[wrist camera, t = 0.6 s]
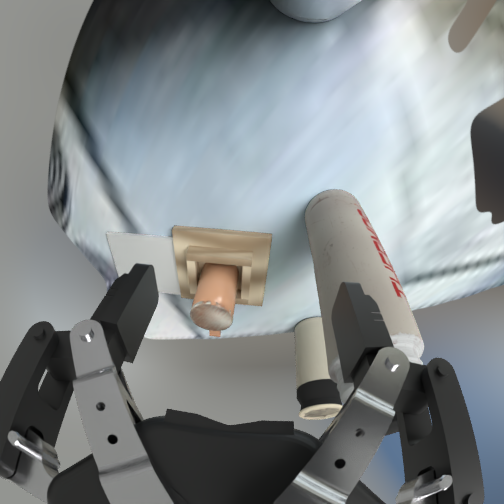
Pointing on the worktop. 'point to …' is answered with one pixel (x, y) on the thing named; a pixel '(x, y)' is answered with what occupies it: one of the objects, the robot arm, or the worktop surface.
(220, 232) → the dock
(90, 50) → the worktop surface
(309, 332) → the travel mug
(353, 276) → the thermos bottle
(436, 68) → the worktop surface
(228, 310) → the tabbed peach cylinder
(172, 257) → the mat
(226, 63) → the worktop surface
